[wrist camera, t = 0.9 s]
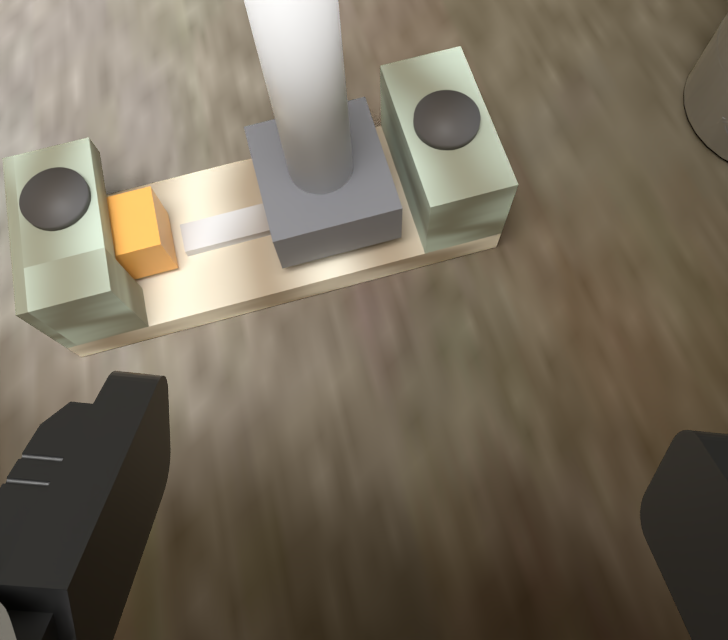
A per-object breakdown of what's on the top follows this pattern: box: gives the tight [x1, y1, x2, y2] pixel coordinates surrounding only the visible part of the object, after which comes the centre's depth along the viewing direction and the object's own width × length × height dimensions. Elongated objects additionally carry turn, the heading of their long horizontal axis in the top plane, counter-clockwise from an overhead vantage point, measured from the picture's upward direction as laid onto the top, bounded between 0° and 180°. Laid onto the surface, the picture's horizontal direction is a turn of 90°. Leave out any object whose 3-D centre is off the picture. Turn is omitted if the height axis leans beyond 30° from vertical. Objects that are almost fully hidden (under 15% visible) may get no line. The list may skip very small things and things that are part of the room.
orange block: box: [106, 186, 178, 280], centre depth 31 cm, size 3×3×3 cm
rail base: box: [3, 46, 518, 357], centre depth 31 cm, size 22×8×6 cm, turn 105°
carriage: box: [244, 0, 403, 269], centre depth 25 cm, size 6×6×15 cm
